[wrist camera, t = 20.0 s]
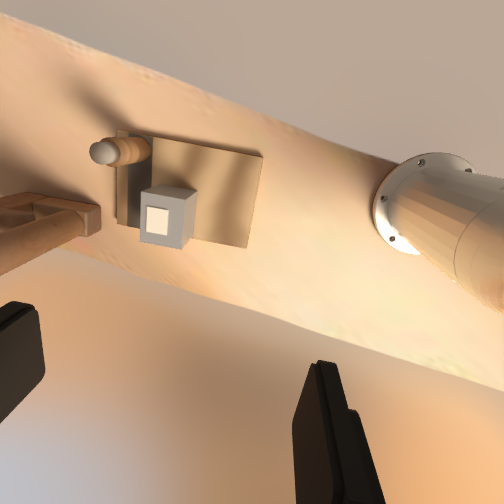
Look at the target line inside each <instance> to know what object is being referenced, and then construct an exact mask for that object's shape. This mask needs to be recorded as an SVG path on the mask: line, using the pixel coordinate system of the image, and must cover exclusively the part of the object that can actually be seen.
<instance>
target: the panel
mask: <svg viewBox="0 0 504 504" xmlns="http://www.w3.org/2000/svg"><path fill="white" fill-rule="evenodd" d="M117 137H141V138H144V139H146V140H147V141H148V142H149V144H150V145H151V149H152V153H151V156H150V158H149V159H148V160H146V161H142V162H137V163H132V164H127V165H122V166H117V224H120V225H125V226H129V227H134V228H139V229H140V215H141V191H144V190H146V189H149V188H151V187H153V186H156V185H158V184H162V185H168V186H173V187H178V188H184V189H189V190H194V191H198V194H197V204H196V214H195V224H194V234H193V236H192V237H191V238H193V239H198V240H203V241H209V242H214V243H219V244H224V245H230V246H235V247H240V248H245V249H246V248H247V244H248V238H249V233H250V227H251V222H252V216H253V211H254V205H255V200H256V194H257V189H258V184H259V178H260V173H261V167H262V162H263V157H259V156H253V155H248V154H243V153H238V152H232V151H227V150H222V149H217V148H211V147H206V146H201V145H196V144H191V143H185V142H180V141H175V140H170V139H164V138H159V137H154V136H149V135H143V134H138V133H133V132H128V131H123V130H117Z"/></svg>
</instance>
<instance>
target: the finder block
mask: <svg viewBox="0 0 504 504" xmlns="http://www.w3.org/2000/svg"><path fill="white" fill-rule="evenodd" d="M197 194H198V191H194V190H189V189H184V188H178V187H173V186H168V185H162V184H158V185H156V186H153V187H151V188H149V189H146V190H144V191H141V215H140V242H144V243H149V244H154V245H160V246H165V247H170V248H176V249H182V248H183V247H184V246H185V244H186V243H187V242H188V241H189V240H190V238H191V237H192V236H193V234H194V224H195V214H196V204H197Z"/></svg>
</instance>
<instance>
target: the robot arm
mask: <svg viewBox="0 0 504 504" xmlns="http://www.w3.org/2000/svg"><path fill="white" fill-rule="evenodd" d="M418 161H420V163H419V164H418V165H417V163H418ZM464 170H465V171H464ZM381 196H383V199H380V198H381ZM373 220H374V224H375V227H376V229H377V231H378V233H379V234H380V236H381V237H382V238H383V240H384V241H385V242H387V243H388V244H389V245H390V246H392V247H393V248H395V249H397V250H399V251H402V252H405V253H410V254H421V255H422V256H424V257H425V258H426V259H427V260H428V261H430V262H431V263H432V264H433V265H435V266H436V267H437V268H438V269H440V270H441V271H442V272H443V273H444V274H446V275H447V276H448V277H449V278H451V279H452V280H453V281H454V282H455V283H457V284H458V285H459V286H460V287H462V288H463V289H464V290H465V291H467V292H468V293H469V294H471V295H472V296H473V297H474V298H476V299H477V300H478V301H480V302H481V303H482V304H484V305H485V306H487V307H489V308H491V309H493V310H495V311H497V312H499V313H502V314H504V179H502V178H497V177H491V176H487V175H481V174H478V172H477V171H476V169H475V168H474V167H473V166H472V165H471V164H470V163H469V162H468V161H466V160H464V159H463V158H461V157H459V156H455V155H452V154H448V153H427V154H422V155H418V156H415V157H413V158H410V159H408V160H406V161H405V162H403V163H401V164H400V165H398V166H397V167H396V168H395V169H394V170H392V171H391V172H390V173H389V174H388V176H387V177H386V178H385V179H384V180H383V182H382V184H381V185H380V187H379V188H378V191H377V193H376V196H375V198H374V204H373ZM390 236H391V238H389V237H390ZM44 374H45V363H44V355H43V348H42V339H41V331H40V323H39V315H38V312H37V310H35V308H34V306H33V305H31V304H27V303H21V302H17V301H11V302H9V303H7V304H5V305H4V306H2V307H1V308H0V423H1V422H2V421H3V420H4V419H5V418H6V417H7V416H8V415H9V414H10V413H11V412H12V411H13V410H14V409H15V407H16V406H17V405H18V404H19V403H20V402H21V401H22V400H23V399H24V398H25V397H26V396H27V395H28V394H29V393H30V392H31V391H32V390H33V389H34V388H35V387H36V385H37V384H38V383H39V382H40V381H41V380H42V378H43V376H44ZM292 439H293V456H294V472H295V489H296V490H295V491H296V504H386V503H385V499H384V496H383V492H382V489H381V486H380V483H379V479H378V476H377V473H376V469H375V466H374V463H373V459H372V456H371V453H370V449H369V446H368V443H367V439H366V436H365V433H364V430H363V426H362V423H361V419H360V417H359V414H358V413H357V411H356V410H352V409H348V405H347V401H346V398H345V394H344V390H343V387H342V383H341V379H340V375H339V372H338V368H337V365H336V364H335V363H332V362H327V361H322V360H318V361H317V363H316V364H313V363H312V364H311V366H310V368H309V372H308V375H307V378H306V381H305V384H304V387H303V390H302V393H301V396H300V399H299V402H298V406H297V408H296V411H295V414H294V418H293V422H292Z"/></svg>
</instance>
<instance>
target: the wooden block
mask: <svg viewBox="0 0 504 504" xmlns="http://www.w3.org/2000/svg"><path fill="white" fill-rule="evenodd" d="M100 230H101V207H100V206H98V205H92V204H87V203H82V202H76V201H71V200H65V199H60V198H55V197H48V196H44V195H39V194H33V193H28V192H24V193H20V194H15V195H11V196H7V197H2V198H0V276H1V275H3V274H5V273H7V272H9V271H11V270H13V269H14V268H17V267H19V266H20V265H22V264H24V263H26V262H28V261H30V260H32V259H34V258H36V257H38V256H40V255H42V254H44V253H46V252H48V251H50V250H52V249H53V248H56V247H58V246H60V245H62V244H64V243H66V242H68V241H70V240H72V239H74V238H76V237H77V236H83V237H89V236H90V235H92V234H94V233H96V232H98V231H100Z"/></svg>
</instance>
